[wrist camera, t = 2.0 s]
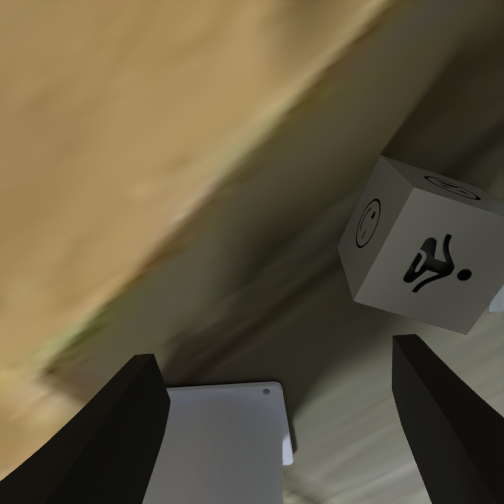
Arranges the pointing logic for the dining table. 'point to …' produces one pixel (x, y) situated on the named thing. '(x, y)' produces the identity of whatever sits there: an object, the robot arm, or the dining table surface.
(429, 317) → the light grey cube
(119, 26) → the dining table surface
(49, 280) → the dining table surface
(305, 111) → the dining table surface
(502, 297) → the mat
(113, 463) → the robot arm
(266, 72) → the dining table surface
